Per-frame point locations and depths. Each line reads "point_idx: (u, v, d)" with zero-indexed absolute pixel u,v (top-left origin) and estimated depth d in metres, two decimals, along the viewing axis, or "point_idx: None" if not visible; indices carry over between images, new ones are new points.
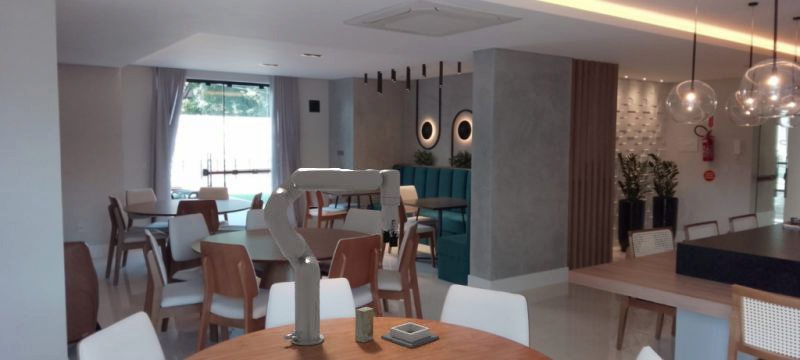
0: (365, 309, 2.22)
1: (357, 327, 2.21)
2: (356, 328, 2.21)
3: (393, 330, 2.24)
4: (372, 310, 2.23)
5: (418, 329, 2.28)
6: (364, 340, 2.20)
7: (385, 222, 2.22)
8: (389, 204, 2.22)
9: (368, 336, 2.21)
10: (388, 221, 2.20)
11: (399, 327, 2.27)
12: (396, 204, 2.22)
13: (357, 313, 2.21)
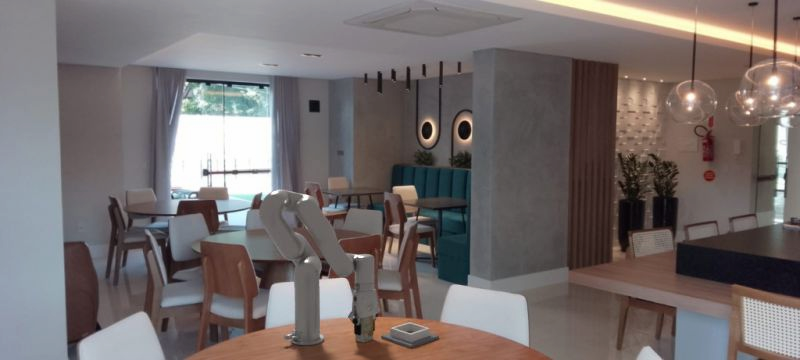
0: None
1: None
2: None
3: (393, 330, 2.24)
4: None
5: (418, 329, 2.28)
6: (364, 340, 2.20)
7: (375, 306, 2.23)
8: None
9: (368, 336, 2.21)
10: None
11: (399, 327, 2.27)
12: None
13: None
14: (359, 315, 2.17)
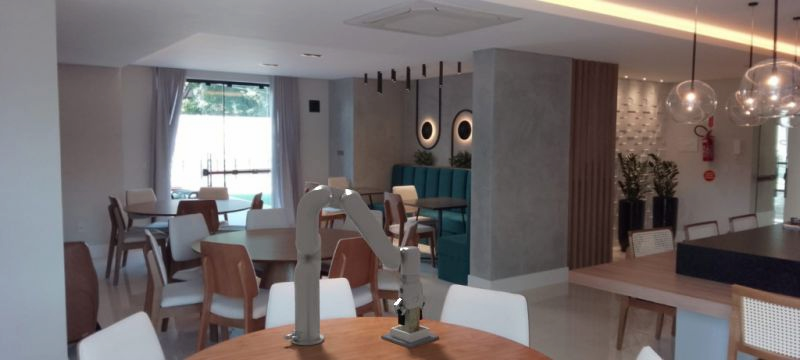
0: None
1: None
2: None
3: (393, 330, 2.24)
4: None
5: None
6: None
7: (420, 298, 2.25)
8: None
9: None
10: None
11: (399, 327, 2.27)
12: None
13: None
14: (406, 306, 2.20)
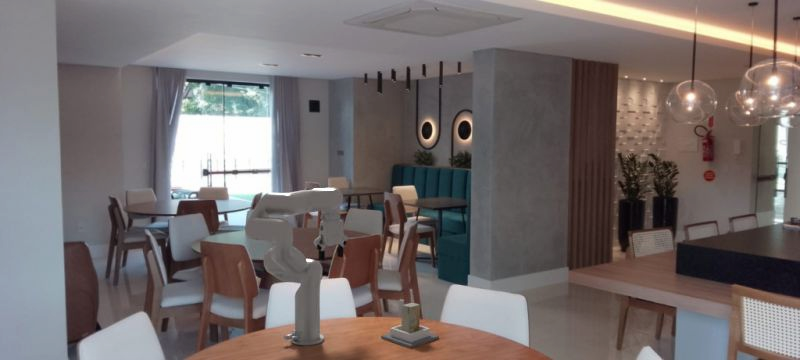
0: (411, 305, 2.24)
1: (403, 322, 2.24)
2: (402, 323, 2.24)
3: (393, 330, 2.24)
4: (418, 306, 2.25)
5: None
6: None
7: (340, 236, 2.39)
8: None
9: None
10: None
11: (399, 327, 2.27)
12: None
13: (403, 309, 2.24)
14: (325, 242, 2.34)
